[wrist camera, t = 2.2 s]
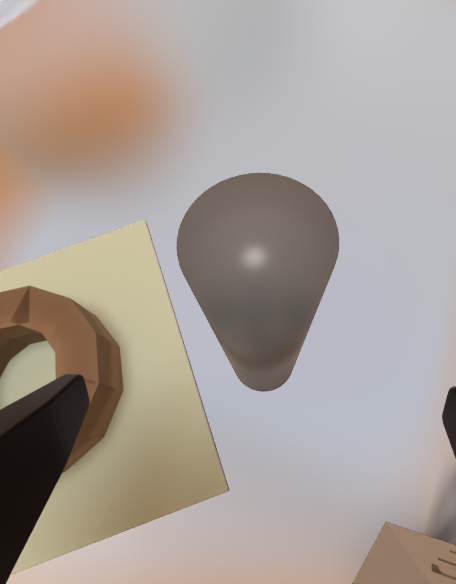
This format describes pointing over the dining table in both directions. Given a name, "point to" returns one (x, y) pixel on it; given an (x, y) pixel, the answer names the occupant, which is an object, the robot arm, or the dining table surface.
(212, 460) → the mat
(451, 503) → the dining table surface
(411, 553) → the die
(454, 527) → the dining table surface
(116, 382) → the bead
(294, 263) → the grey rounded peg
